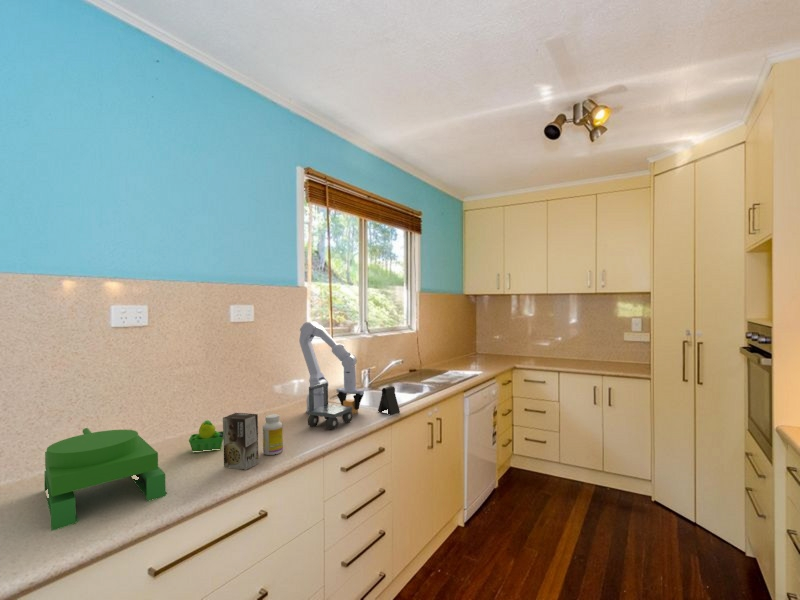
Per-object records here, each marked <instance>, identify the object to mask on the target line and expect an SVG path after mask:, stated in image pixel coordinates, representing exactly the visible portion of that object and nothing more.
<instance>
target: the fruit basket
mask: <svg viewBox="0 0 800 600" xmlns="http://www.w3.org/2000/svg"><path fill="white" fill-rule="evenodd" d="M188 442H189V445H190V447H191V452H192V451H203V450H212V449H220V450H221V449H222V445H223V430H220V431H216V426H215V425H214V424H213V422H211V421H210V420H205V421H203V422H202V423H201V424H200V426H199V428H198V433H193V434H191V435H190V437H189V439H188Z"/></svg>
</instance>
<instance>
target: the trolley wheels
mask: <svg viewBox="0 0 800 600" xmlns="http://www.w3.org/2000/svg"><path fill="white" fill-rule="evenodd" d="M353 415H354V414H352V412H351V411H350V412H348V413H346V414H343V415H341V417H342V418H341V419H342V421H343V423H348V422H349V423H351V422H350V421H352V419H353ZM323 418H324V419H325V420H326V428H327V429H328V430H332V431H333V430H336V429H337V428H338V424H339V420H338V417H336V418H330V417H323ZM319 422H320V416H315V415H308V419H307V425H308V426H309V427H312V428H313V427H317V426H318V425H319Z"/></svg>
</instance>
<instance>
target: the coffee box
mask: <svg viewBox="0 0 800 600" xmlns="http://www.w3.org/2000/svg"><path fill="white" fill-rule="evenodd" d="M258 419H259V418H258V413H245V412H234V413H230V414H229V415H227V416H225V417H223V418H222V431H223V442H222V445H223V468H226V467H230V468H229V469H234V468H236V469H235V470H242V469H244V471H248V470H249V469H251V468H252V466H253V467H255V466H256V465H258V464H259V461H260V460H259V430H258V429H259V422H258V421H259V420H258Z"/></svg>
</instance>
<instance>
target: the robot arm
mask: <svg viewBox="0 0 800 600" xmlns="http://www.w3.org/2000/svg"><path fill="white" fill-rule="evenodd" d="M299 331H300V334H299V346H300V348H301V352H302V354H303V358H304V361H305V364H306V366H307V371H308V373H309V379H308V381H309V382H308V383H309V387H310V386H314V385H317V384H321V383H324V382H328V383H329V381H328V380H327V379H326V377H325V375H324V374H323V373H322V372H321V369H320V366H319V363H318V360H317V356H316V353H315V350H314V348H313V344H312V342H313V339H314V338H315V337H318V338H321V340H322V341H323V342H325V343H326V344H327V345H328V346H329V348H331V353H332V354H333V355H334V356H335V357H336V358H337V359H338V360H339V361H340V362H341V366H342V367H343V387H341V388H340V387H339V388H338V387H337V388H336V393H337V395H336V396H337V398H338V400H339V402H340V406H343V401H345V400H347V396H348V394H350V395H352V396H353V399H354V401H355V410H358V411H359V409H360V406H361V405H360V404H361V401H362V399H363V397H364V395H365V390H363V389H359V388H357V384H356V383H357V382H356V380H357V375H356V374H357V372H356V371H357V369H356V364H357V361H358V360H357V357H356V355H354V354H352V353H351V352H350V351H348V350H347V348H345V345H344V344H342V343H337V342H336V341H335V339H333V337H332V336H331V335H330V334H329V333H328V332H327V330H326V329H325V328H324V326H323V325H321V324H320V323H319V322H318V321H311V322H310V321H306V322H304V323H303V324H302V325H301V327H300V329H299ZM323 405H324V390H323V387H321V388H318V389H315V390H314V409H315V408H317V407H320V406H323ZM308 411H309V393H308V394H307V396H306V410H305V413H308Z"/></svg>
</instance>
